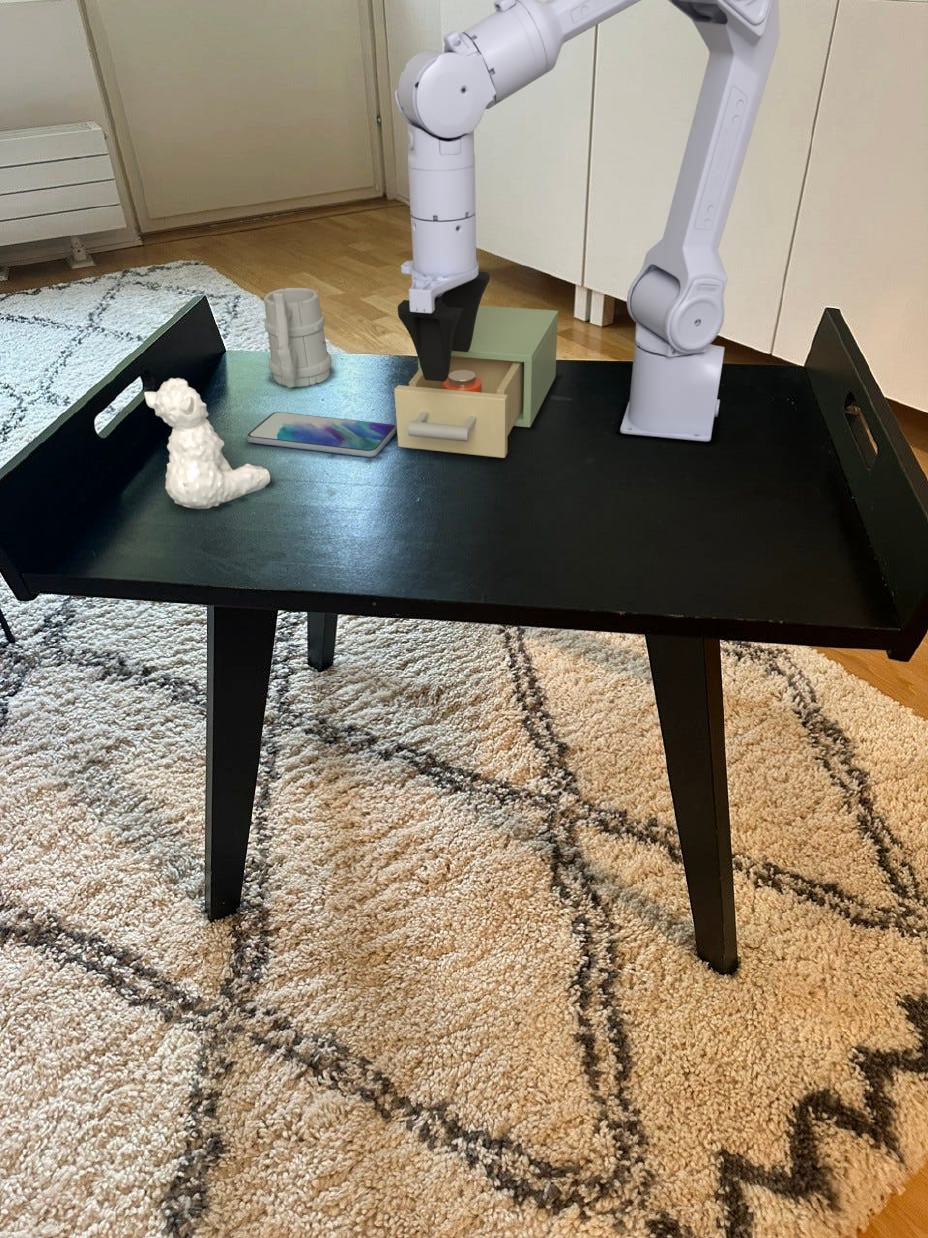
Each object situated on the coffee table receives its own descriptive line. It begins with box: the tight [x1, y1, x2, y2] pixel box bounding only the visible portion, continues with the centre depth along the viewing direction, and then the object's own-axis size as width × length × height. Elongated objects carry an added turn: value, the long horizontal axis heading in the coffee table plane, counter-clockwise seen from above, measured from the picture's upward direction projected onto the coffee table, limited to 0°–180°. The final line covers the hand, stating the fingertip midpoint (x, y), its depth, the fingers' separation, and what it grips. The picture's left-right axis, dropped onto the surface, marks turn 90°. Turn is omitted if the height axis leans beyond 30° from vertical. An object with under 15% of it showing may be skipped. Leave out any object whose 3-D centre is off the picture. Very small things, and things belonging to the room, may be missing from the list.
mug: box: [263, 287, 333, 388], centre depth 106 cm, size 8×12×12 cm, turn 178°
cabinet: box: [417, 304, 559, 428], centre depth 102 cm, size 15×13×8 cm
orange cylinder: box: [443, 370, 482, 393], centre depth 93 cm, size 4×4×5 cm
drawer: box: [393, 356, 524, 459], centre depth 93 cm, size 18×11×6 cm, turn 164°
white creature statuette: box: [143, 377, 271, 510], centre depth 84 cm, size 10×9×12 cm
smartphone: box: [246, 411, 397, 458], centre depth 97 cm, size 7×1×15 cm
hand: (447, 364), depth 86 cm, fingers open, 7 cm apart
